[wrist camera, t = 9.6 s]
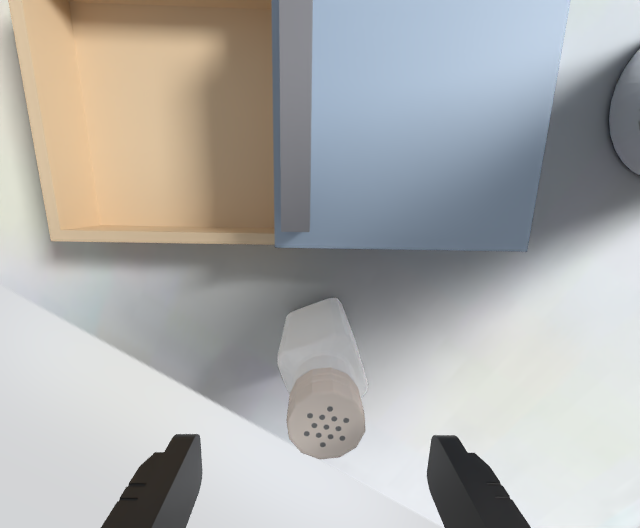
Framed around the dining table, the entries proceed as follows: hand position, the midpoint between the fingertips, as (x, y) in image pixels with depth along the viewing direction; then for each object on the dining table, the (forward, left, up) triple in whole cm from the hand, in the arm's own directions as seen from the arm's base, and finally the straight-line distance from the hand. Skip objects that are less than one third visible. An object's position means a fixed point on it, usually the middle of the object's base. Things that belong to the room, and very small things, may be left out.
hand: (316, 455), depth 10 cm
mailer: (+8, -13, -11) cm, 18 cm away
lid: (-4, -13, -7) cm, 15 cm away
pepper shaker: (0, 0, -11) cm, 11 cm away
